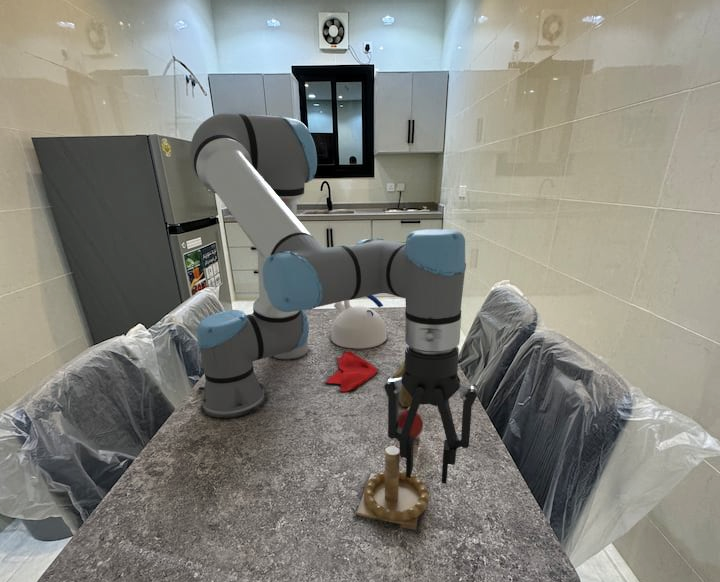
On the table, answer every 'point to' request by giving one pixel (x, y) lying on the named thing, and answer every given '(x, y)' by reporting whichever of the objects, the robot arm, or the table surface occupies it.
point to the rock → (403, 388)
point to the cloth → (352, 372)
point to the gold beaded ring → (390, 514)
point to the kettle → (358, 326)
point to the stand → (392, 491)
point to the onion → (416, 424)
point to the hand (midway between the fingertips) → (426, 474)
